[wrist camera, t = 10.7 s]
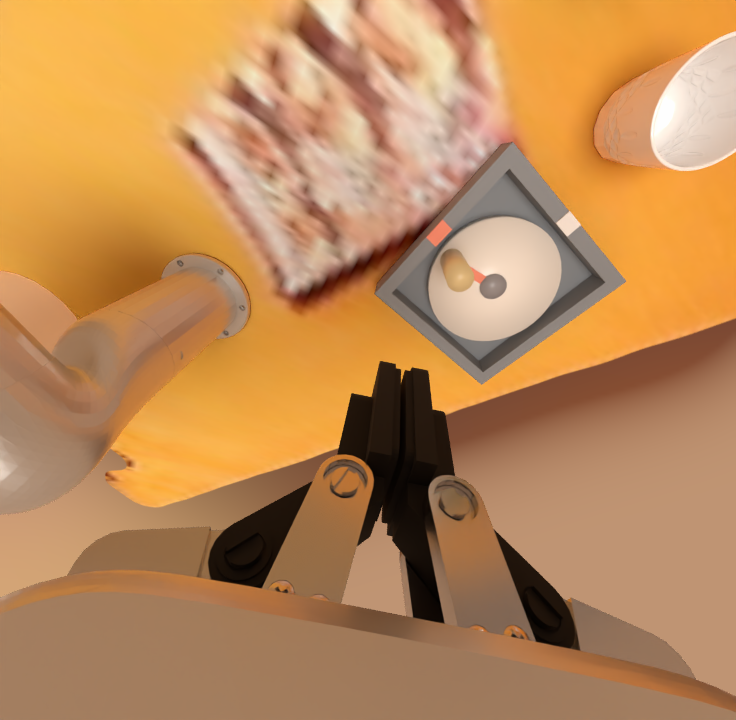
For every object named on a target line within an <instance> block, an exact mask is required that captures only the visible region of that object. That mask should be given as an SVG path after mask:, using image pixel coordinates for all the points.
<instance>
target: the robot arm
mask: <svg viewBox="0 0 736 720" xmlns="http://www.w3.org/2000/svg"><path fill="white" fill-rule="evenodd" d="M249 316H250V300H249V296H248V293H247V291H246V289H245V286H244V285H243V283H242V282H241V280H240V279H239V277H238V276H237V275H236V274H235V273H234V272H233V271H232V270H231V269H230V268H229V267H228V266H226V265H225V264H224V263H222V262H220V261H219V260H217V259H215V258H212V257H210V256H207V255H202V254H186V255H182V256H179V257H177V258H175V259H173V260H172V261H170V262H169V263H168V264H167V266H166V267H165V268H164V271H163V273H162V277H161V280H159V281H157V282H155V283H153V284H151V285H149V286H147V287H145V288H142V289H140V290H138V291H136V292H134V293H132V294H130V295H128V296H126V297H124V298H122V299H120V300H118V301H115V302H113V303H111V304H109V305H107V306H105V307H103V308H101V309H99V310H97V311H95V312H93V313H90V314H88V315H86V316H84V317H82V318H81V319H79V320H77V321H76V322H74V323H73V324H72V325H71V326H69V327H68V328H67V329H66V330H65V332H64V333H63V334H62V335H61V336H60V338H59V339H58V341H57V343H56V345H55V346H54V348H53V351H52V353H51V354H50V353H49V352H48V351H47V350H46V348H45V347H44V346H43V345H42V344H41V343H40V342H39V341H38V340H37V339H36V338H35V337H34V336H33V335H32V334H31V333H30V332H29V331H28V330H27V329H26V328H25V327H24V326H23V325H22V324H21V323H20V322H19V321H18V320H17V319H16V318H15V317H14V316H13V315H12V314H11V313H10V312H9V311H8V310H7V309H6V308H5V307H4V306H3V305H2V304H1V303H0V515H1V514H3V515H4V514H16V513H23V512H27V511H30V510H34V509H37V508H39V507H42V506H45V505H47V504H49V503H51V502H53V501H55V500H57V499H58V498H60V497H62V496H63V495H65V494H66V493H68V492H69V491H70V490H72V489H73V488H74V487H76V486H77V485H78V484H79V483H80V482H81V481H82V480H83V479H85V478H86V477H87V475H88V474H90V473H91V471H92V470H93V469H94V468H95V467H96V466H97V465H98V464H99V462H100V461H101V460H102V458H103V457H104V456H105V455H106V453H107V452H108V451H109V449H110V448H111V446H112V445H113V444H114V442H115V441H116V439H117V438H118V436H119V435H120V434H121V432H122V431H123V430H124V428H125V427H126V426H127V424H128V423H129V422H130V421H131V420H132V418H133V417H134V416H135V415H136V414H137V413H138V412H139V410H140V409H141V408H142V407H143V406H144V405H145V404H146V403H147V402H148V401H149V400H150V399H151V398H152V397H153V396H154V395H155V394H156V393H157V392H158V391H160V390H161V389H162V388H163V387H164V386H165V385H166V384H167V383H168V382H169V381H170V380H171V379H173V378H174V377H175V376H176V375H177V374H178V373H179V372H180V371H181V370H182V369H183V368H184V367H185V366H187V365H188V364H189V363H190V362H191V361H192V360H193V359H194V358H195V357H196V356H197V355H198V354H199V353H201V352H202V351H203V350H204V349H205V348H206V347H207V346H208V345H209V344H210V343H211V342H212V341H213V340H214V339H222V338H228V337H231V336H233V335H235V334H236V333H238V332H239V331H240V330H241V329H242V328H243V327H244V326H245V324H246V323H247V321H248V319H249ZM381 508H382V523H387V524H388V526H387V535H389V536H393V539H392V541H393V542H394V543H395V545H396V546H397V547H398V549H399V550H400V568H401V577H402V585H403V594H404V601H405V610H406V616H402V615H397V614H392V613H386V612H381V611H376V610H371V609H366V608H361V607H356V606H350V605H345V604H341V602H342V598H343V594H344V590H345V587H346V584H347V580H348V576H349V572H350V569H351V565H352V562H353V558H354V555H355V551H356V547H357V546H358V545H359V544H361V543H362V542H363V541H365V540H366V539H367V538H369V537H370V535H371V533H372V529H373V527H374V524H375V521H377V519H378V517H379V514H380V511H381ZM0 720H736V696H734V695H732V694H730V693H728V692H725V691H723V690H721V689H719V688H717V687H714V686H712V685H709V684H706V683H704V682H701V681H699V680H696V678H695V677H694V675H693V673H692V671H691V669H690V668H689V666H688V665H687V664H686V662H685V661H684V660H683V659H682V657H681V656H680V655H679V654H678V653H677V652H676V651H675V650H674V649H673V648H672V647H671V646H670V645H669V644H668V643H667V642H665V641H663V640H662V639H660V638H658V637H657V636H655V635H654V634H652V633H649V632H647V631H644V630H642V629H640V628H638V627H636V626H633V625H631V624H629V623H627V622H624V621H622V620H620V619H617V618H616V617H613V616H611V615H609V614H607V613H604V612H602V611H600V610H598V609H595V608H593V607H591V606H589V605H586V604H584V603H582V602H580V601H577V600H575V599H573V598H570V599H568V600H565V599H563V598H562V597H561V596H560V595H559V593H558V592H557V591H556V590H555V589H554V588H553V587H552V586H551V585H550V584H549V583H548V582H547V581H546V580H545V579H544V578H543V577H542V576H541V575H540V574H539V573H538V572H537V571H536V570H535V569H534V568H533V567H532V566H531V565H530V564H529V563H528V562H527V561H526V560H525V559H524V558H523V557H522V556H521V555H520V554H519V553H518V552H517V551H515V549H513V548H512V547H511V546H510V545H509V544H508V543H507V542H506V541H505V540H504V539H503V538H502V537H501V536H500V535H499V534H498V533H497V532H496V531H495V530H494V529H493V526H492V524H491V521H490V518H489V516H488V513H487V511H486V508H485V505H484V503H483V501H482V498H481V497H480V495H479V493H478V492H477V491H476V489H475V488H474V487H473V486H472V485H470V484H469V483H468V482H466V481H465V480H463V479H461V478H458V477H456V476H455V473H454V466H453V461H452V454H451V448H450V441H449V435H448V429H447V423H446V416H445V413H444V412H442V411H437V410H432V401H431V392H430V383H429V373H428V371H427V370H423V369H418V368H413V367H412V368H411V371H407V370H405V372H404V375H403V379H402V382H401V369H397V368H396V364H393V363H388V362H383V361H380V364H379V368H378V372H377V376H376V381H375V385H374V389H373V393H372V397H368V396H363V395H358V394H353V393H352V394H351V398H350V402H349V407H348V411H347V415H346V420H345V424H344V428H343V432H342V437H341V441H340V445H339V450H338V454H337V455H336V456H333V457H330V458H329V459H327V460H326V461H325V462H324V463H323V464H322V465H321V466H320V468H319V469H318V472H317V474H316V476H315V478H314V480H313V481H312V482H310V483H308V484H307V485H305V486H303V487H301V488H299V489H297V490H295V491H293V492H292V493H290V494H288V495H286V496H284V497H282V498H281V499H279V500H277V501H275V502H273V503H271V504H269V505H268V506H266V507H264V508H262V509H260V510H258V511H257V512H255V513H253V514H251V515H250V516H247V517H245V518H244V519H242V520H240V521H238V522H236V523H234V524H233V525H231V526H230V527H228V528H227V529H226V530H211V528H210V527H191V528H169V529H147V530H126V531H120V532H115V533H110V534H108V535H106V536H104V537H102V538H100V539H98V540H96V541H95V542H94V543H93V544H91V545H90V546H89V547H88V548H86V549H85V550H84V551H83V552H82V554H81V555H80V556H79V557H78V559H77V560H76V561H75V563H74V564H73V566H72V568H71V570H70V571H69V573H68V575H67V576H64V577H60V578H57V579H53V580H49V581H45V582H41V583H38V584H35V585H32V586H29V587H26V588H23V589H20V590H17V591H14V592H12V593H10V594H8V595H5V596H3V597H0Z"/></svg>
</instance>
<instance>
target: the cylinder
mask: <svg viewBox="0 0 736 720" xmlns="http://www.w3.org/2000/svg"><path fill="white" fill-rule="evenodd" d="M0 303H1V304H2V305H3V306H4V307H5V308H6V309H7V310H8V311H9V312H10V313H11V314H12V315H13V316H14V317H15V318H16V319H17V320H18V321H19V322H20V323H21V324H22V325H23V326H24V327H25V328H26V329H27V330H28V331H29V332H30V333H31V334H32V335H33V336H34V337H35V338H36V339H37V340H38V341H39V342H40V343H41V344H42V345H43V346H44V347H45V348H46V350H47V351H48V352H49V353H50V354H51V353H52V351H53V348H54V346H55V345H56V343H57V341H58V339H59V338H60V336H61V335H62V334H63V333H64V332H65V330H66V329H67V328H68V327H69V326H71V325H72V324H73V323H74V322H76V321H77V318H76V317H75V315H74V314H73V313H72V312H71V311H70V310H69V308H68V307H67V306H66V305H65V304H64V303H63V302H62V301H61V300H60V299H59V298H57V297H56V296H55V295H54V294H53V293H51V292H50V291H49V290H47V289H46V288H44V287H43V286H41V285H39V284H38V283H36V282H35V281H33V280H30V279H28V278H26V277H23V276H21V275H19V274H15V273H11V272H6V271H0Z"/></svg>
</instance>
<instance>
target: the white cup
mask: <svg viewBox="0 0 736 720" xmlns="http://www.w3.org/2000/svg"><path fill="white" fill-rule="evenodd" d="M594 146H595V148H596V149H597V151H598V152H599V154H600V155H601V157H602V158H604V159H607V160H610V161H613V162H616V163H623V164H628V165H634V166H641V167H649V168H659V169H669V170H678V171H692V170H698V169H702V168H705V167H708V166H711V165H713V164H715V163H717V162H719V161H721V160H723V159H725V158H727V157H728V156H730V155H731V154H733V153H734V152H736V31H735V32H731V33H729V34H726V35H724V36H722V37H720V38H717V39H715V40H713V41H711V42H709V43H707V44H704V45H702V46H700V47H698V48H696V49H694V50H691V51H689V52H687V53H685V54H682V55H680V56H678V57H676V58H674V59H672V60H669V61H667V62H665V63H664V64H662V65H660V66H657V67H655V68H653V69H652V70H650V71H648V72H646V73H644V74H643V75H641V76H638V77H636V78H634V79H632V80H631V81H629V82H628V83H626V84H625V85H623V86H622V87H621V88H619V89H618V90H616V91H615V92H614V93H613V94H612V95H611V97H610V98H609V99H608V101H607V102H606V103H605V105H604V106H603V107H602V109H601V110H600V113H599V115H598V118H597V121H596V124H595V127H594Z"/></svg>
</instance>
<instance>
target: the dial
mask: <svg viewBox="0 0 736 720" xmlns="http://www.w3.org/2000/svg"><path fill="white" fill-rule="evenodd" d="M561 271H562V269H561V259H560V254H559V251H558V249H557V246H556V245H555V243H554V241H553V239H552V238H551V237H550V236H549V235H548V234H547V233H546V232H545V231H544V230H543V229H542V228H540V227H538V226H537V225H535V224H533V223H531V222H529V221H527V220H524V219H522V218H519V217H515V216H509V215H495V216H488V217H484V218H481V219H478V220H475V221H473V222H471V223H468V224H466V225H465V226H463V227H462V228H460V229H458V230H457V231H456V232H455V233H454V234H452V235H451V236H450V237H449V238H448V239H447V240H446V241H445V242H444V244H443V245H442V246H441V248H440V249H439V250H438V252H437V254H436V256H435V257H434V260H433V262H432V264H431V268H430V271H429V277H428V293H429V299H430V303H431V307H432V309H433V312H434V314H435V315H436V317H437V319H438V320H439V321H440V323H441V324H442V325H443V326H444V327H445V328H447V329H448V330H449V331H451V332H452V333H454V334H456V335H458V336H460V337H463V338H465V339H469V340H475V341H492V340H499V339H503V338H506V337H509V336H512V335H514V334H516V333H519V332H521V331H522V330H524V329H526V328H527V327H529V326H530V325H531V324H533V323H534V322H535V321H536V320H537V319H538V318H539V317H541V315H542V314H543V313H544V312H545V311H546V310H547V308H548V307H549V305H550V304H551V303H552V301H553V299H554V297H555V295H556V293H557V290H558V288H559V284H560V280H561Z"/></svg>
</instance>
